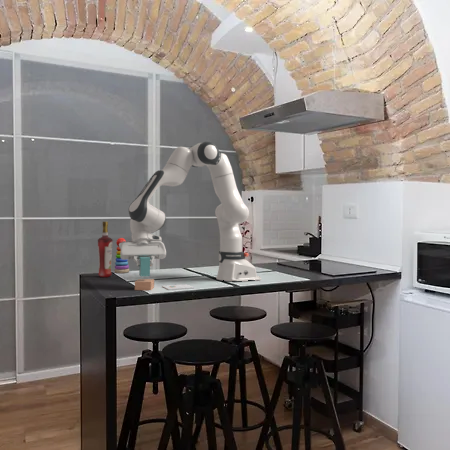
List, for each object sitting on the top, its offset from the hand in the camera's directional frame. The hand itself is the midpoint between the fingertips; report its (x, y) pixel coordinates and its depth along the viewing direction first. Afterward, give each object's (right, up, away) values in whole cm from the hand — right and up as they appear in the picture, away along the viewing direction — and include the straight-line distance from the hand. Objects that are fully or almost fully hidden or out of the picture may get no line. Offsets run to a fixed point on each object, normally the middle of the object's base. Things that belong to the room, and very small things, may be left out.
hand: (145, 265), depth 207 cm
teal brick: (0, -5, +1) cm, 5 cm away
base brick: (0, -11, +1) cm, 11 cm away
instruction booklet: (+14, -10, +6) cm, 18 cm away
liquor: (-26, -9, +33) cm, 43 cm away
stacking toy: (-21, -8, +50) cm, 55 cm away
